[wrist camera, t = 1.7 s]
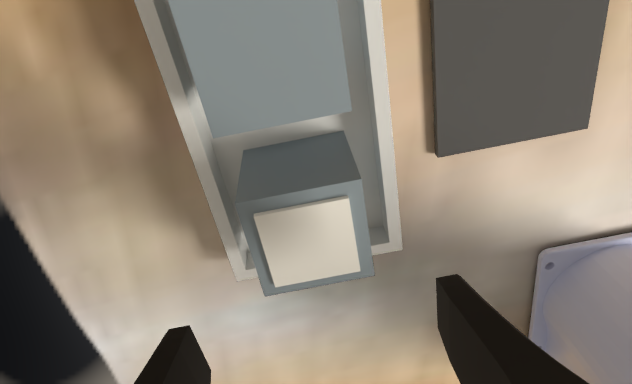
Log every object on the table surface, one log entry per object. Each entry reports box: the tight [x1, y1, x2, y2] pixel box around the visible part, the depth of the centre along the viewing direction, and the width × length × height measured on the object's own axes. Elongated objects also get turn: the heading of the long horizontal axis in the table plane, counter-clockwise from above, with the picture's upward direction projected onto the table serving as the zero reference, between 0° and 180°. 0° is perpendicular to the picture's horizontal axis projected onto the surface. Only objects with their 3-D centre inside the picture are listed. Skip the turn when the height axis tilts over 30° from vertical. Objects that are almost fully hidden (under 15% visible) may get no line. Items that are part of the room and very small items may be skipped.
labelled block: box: [235, 130, 375, 296], centre depth 18 cm, size 4×4×5 cm
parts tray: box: [134, 0, 403, 282], centre depth 17 cm, size 15×8×2 cm, turn 10°
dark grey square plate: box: [430, 0, 609, 158], centre depth 18 cm, size 8×7×1 cm
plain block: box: [168, 0, 352, 138], centre depth 14 cm, size 4×4×4 cm
